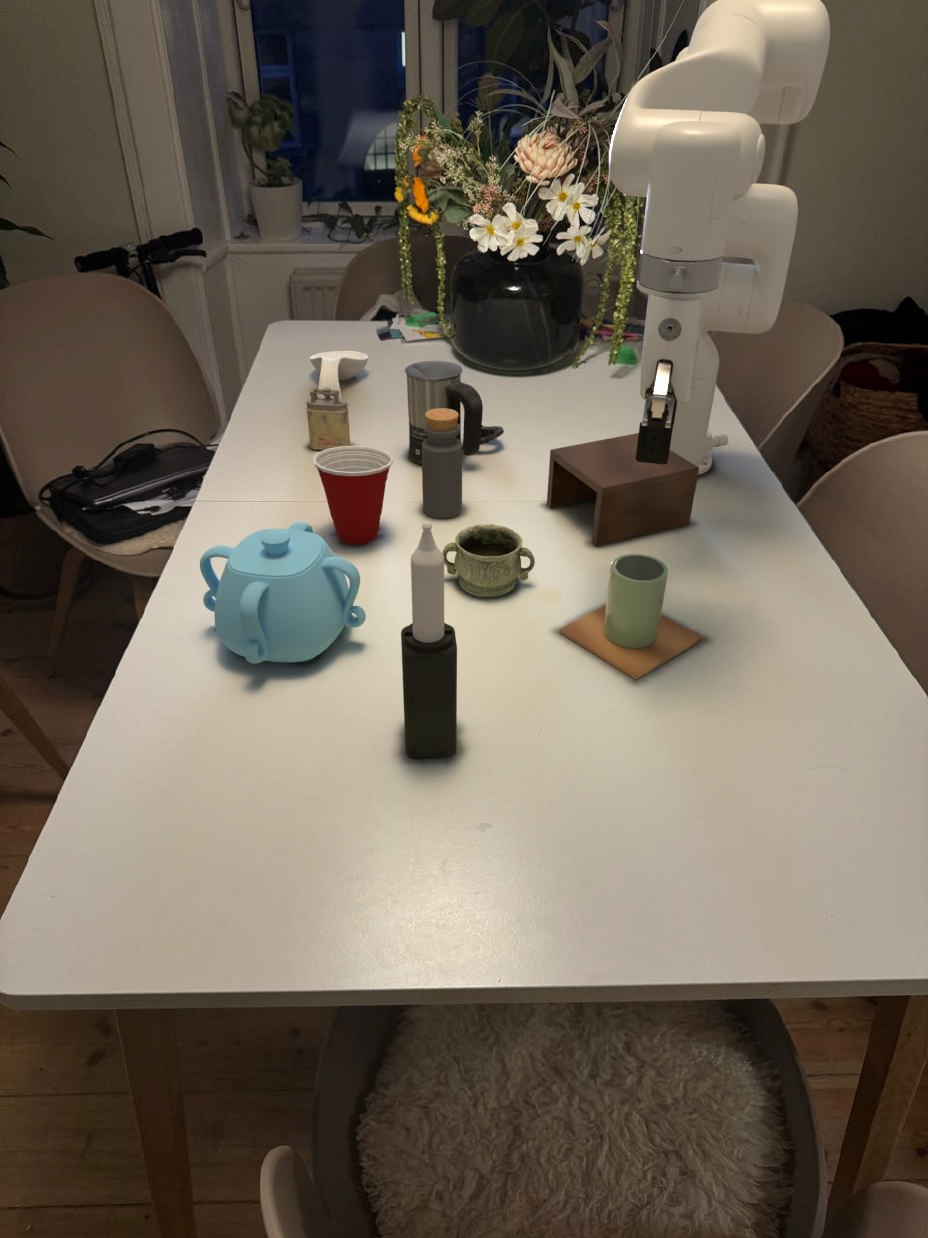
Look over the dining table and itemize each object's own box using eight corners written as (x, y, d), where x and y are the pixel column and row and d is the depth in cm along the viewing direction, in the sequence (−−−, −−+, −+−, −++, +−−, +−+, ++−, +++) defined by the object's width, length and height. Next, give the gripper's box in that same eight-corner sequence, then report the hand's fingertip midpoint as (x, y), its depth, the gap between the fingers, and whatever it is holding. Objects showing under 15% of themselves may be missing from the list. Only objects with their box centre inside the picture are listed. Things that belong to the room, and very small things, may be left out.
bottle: (457, 520, 128) (458, 423, 120) (418, 516, 129) (416, 419, 121) (465, 503, 133) (466, 407, 125) (427, 499, 134) (426, 404, 126)
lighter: (353, 444, 151) (349, 387, 145) (347, 453, 148) (343, 395, 142) (313, 441, 152) (307, 385, 146) (306, 450, 149) (301, 393, 143)
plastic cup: (408, 523, 127) (405, 446, 121) (378, 559, 119) (373, 477, 112) (340, 511, 130) (334, 435, 124) (306, 545, 122) (297, 465, 115)
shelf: (634, 486, 139) (641, 432, 134) (689, 524, 128) (699, 467, 123) (546, 505, 133) (550, 449, 128) (596, 546, 122) (602, 488, 117)
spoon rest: (315, 365, 185) (312, 331, 181) (370, 366, 185) (369, 331, 181) (300, 406, 165) (296, 369, 161) (363, 406, 166) (360, 369, 162)
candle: (404, 725, 91) (396, 509, 77) (453, 723, 91) (454, 507, 77) (405, 760, 87) (397, 538, 73) (457, 757, 87) (458, 536, 73)
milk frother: (397, 461, 145) (394, 373, 137) (435, 428, 158) (435, 345, 149) (477, 476, 141) (479, 386, 133) (510, 440, 153) (514, 356, 145)
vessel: (437, 596, 111) (436, 553, 108) (446, 561, 119) (446, 520, 115) (531, 603, 110) (534, 560, 107) (534, 567, 118) (537, 526, 114)
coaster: (624, 597, 112) (625, 594, 111) (702, 640, 104) (702, 636, 104) (558, 632, 105) (558, 628, 105) (635, 680, 98) (636, 676, 97)
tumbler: (637, 612, 108) (646, 548, 103) (668, 640, 103) (679, 574, 98) (592, 625, 106) (600, 560, 100) (622, 654, 101) (632, 587, 96)
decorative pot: (377, 654, 101) (372, 551, 94) (240, 694, 95) (223, 587, 87) (327, 587, 113) (319, 491, 105) (202, 618, 107) (184, 518, 99)
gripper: (717, 300, 75) (687, 482, 85) (721, 254, 89) (695, 415, 98) (629, 294, 76) (609, 473, 86) (646, 249, 90) (627, 408, 100)
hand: (655, 442), depth 92 cm, fingers open, 9 cm apart
